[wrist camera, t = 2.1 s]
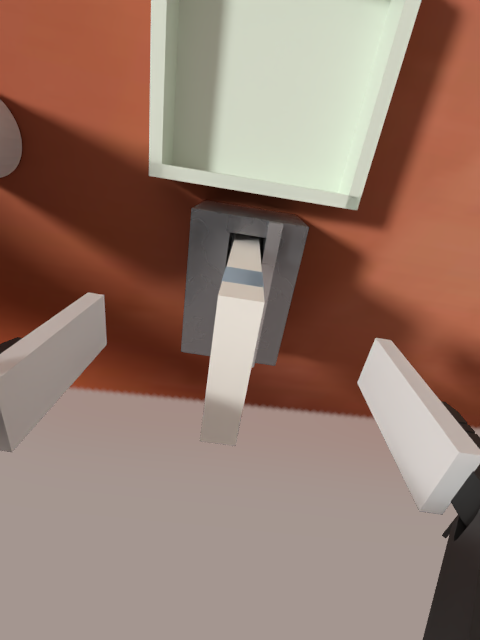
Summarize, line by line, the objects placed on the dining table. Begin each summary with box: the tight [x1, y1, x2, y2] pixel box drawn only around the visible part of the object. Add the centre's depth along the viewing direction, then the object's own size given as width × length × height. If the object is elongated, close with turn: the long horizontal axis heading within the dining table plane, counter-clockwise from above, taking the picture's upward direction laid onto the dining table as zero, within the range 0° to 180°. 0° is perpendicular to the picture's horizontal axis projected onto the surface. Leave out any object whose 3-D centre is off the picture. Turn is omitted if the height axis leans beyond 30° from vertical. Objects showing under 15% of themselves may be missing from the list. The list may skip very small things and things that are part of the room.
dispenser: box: [181, 200, 309, 367], centre depth 22 cm, size 7×10×7 cm
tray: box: [149, 0, 421, 210], centre depth 18 cm, size 14×13×4 cm
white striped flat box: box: [200, 233, 265, 446], centre depth 18 cm, size 2×7×14 cm, turn 172°
